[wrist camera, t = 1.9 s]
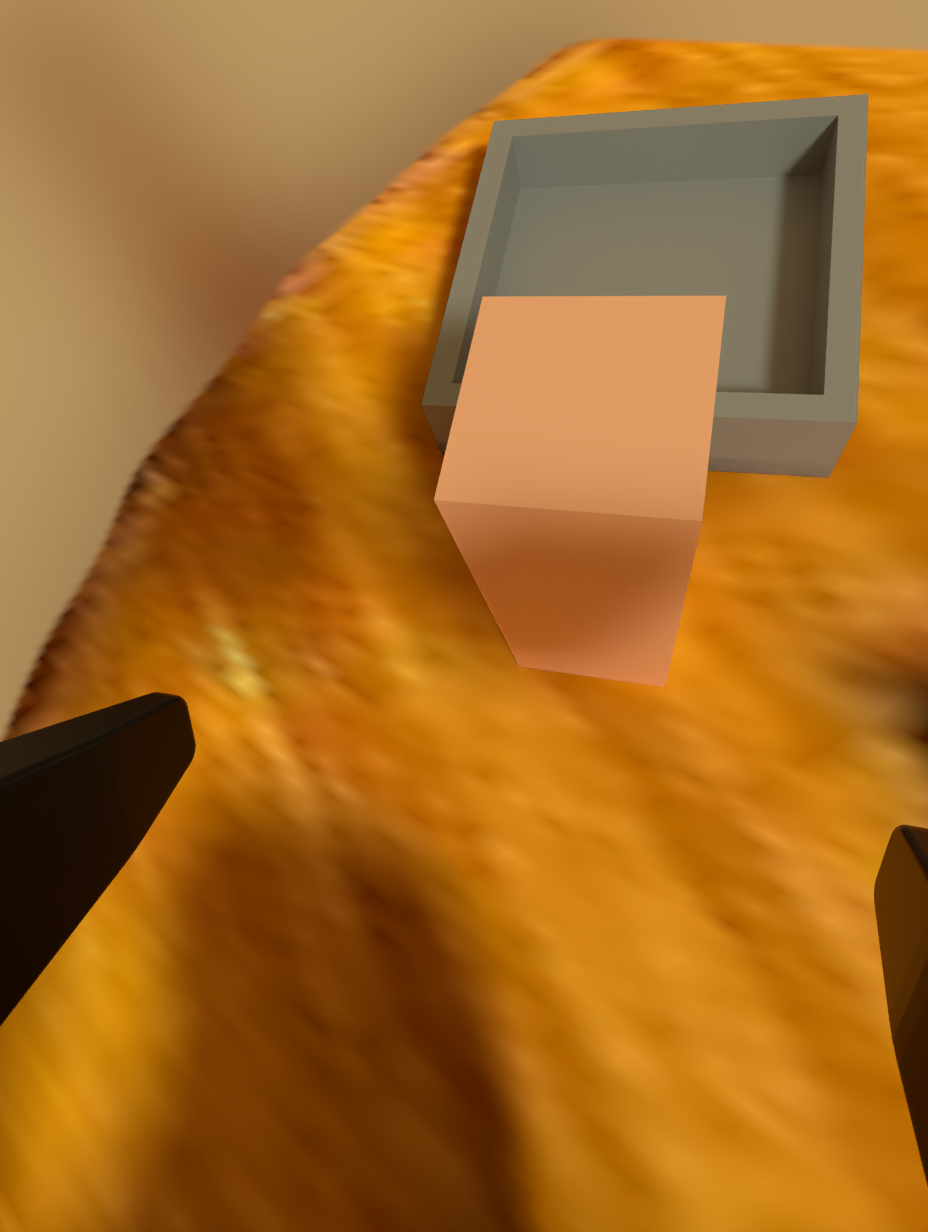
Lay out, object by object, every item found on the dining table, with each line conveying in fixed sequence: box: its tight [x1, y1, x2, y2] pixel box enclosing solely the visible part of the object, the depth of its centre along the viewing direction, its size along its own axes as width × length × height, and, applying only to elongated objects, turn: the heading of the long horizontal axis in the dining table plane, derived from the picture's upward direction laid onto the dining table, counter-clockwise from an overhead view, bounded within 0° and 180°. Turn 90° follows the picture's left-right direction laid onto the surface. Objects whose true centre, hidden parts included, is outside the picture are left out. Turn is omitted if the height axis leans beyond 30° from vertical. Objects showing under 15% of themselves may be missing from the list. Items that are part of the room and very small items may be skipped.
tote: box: [421, 94, 868, 478], centre depth 25 cm, size 13×13×3 cm
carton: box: [434, 296, 726, 687], centre depth 18 cm, size 5×5×11 cm
